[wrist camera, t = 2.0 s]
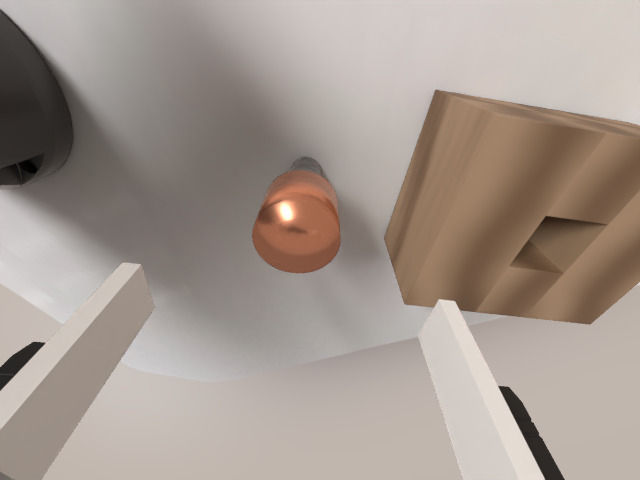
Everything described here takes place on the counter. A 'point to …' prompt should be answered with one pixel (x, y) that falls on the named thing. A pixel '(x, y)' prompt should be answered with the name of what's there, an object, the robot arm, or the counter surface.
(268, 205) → the copper cylinder with shaft
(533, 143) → the hitch block
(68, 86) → the counter surface
